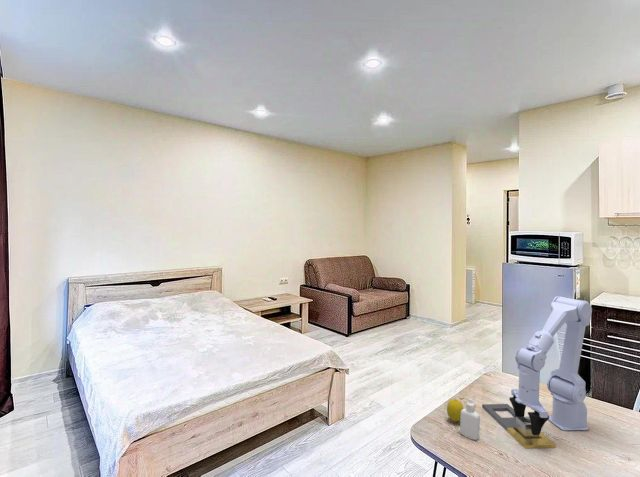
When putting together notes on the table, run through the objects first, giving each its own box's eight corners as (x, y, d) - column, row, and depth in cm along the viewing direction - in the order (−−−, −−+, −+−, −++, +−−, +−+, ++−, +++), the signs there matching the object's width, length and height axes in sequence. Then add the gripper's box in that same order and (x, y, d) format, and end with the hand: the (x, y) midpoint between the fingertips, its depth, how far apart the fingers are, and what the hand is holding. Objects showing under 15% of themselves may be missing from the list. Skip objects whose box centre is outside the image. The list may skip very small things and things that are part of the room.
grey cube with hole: (528, 431, 112) (529, 416, 112) (538, 439, 107) (538, 424, 107) (515, 431, 111) (516, 416, 111) (524, 440, 107) (525, 424, 107)
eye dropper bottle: (468, 429, 112) (469, 394, 112) (481, 439, 107) (482, 402, 107) (458, 431, 111) (459, 396, 111) (470, 442, 106) (471, 404, 105)
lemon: (465, 427, 114) (465, 404, 113) (448, 425, 115) (448, 402, 114) (461, 418, 119) (462, 396, 119) (445, 416, 120) (445, 394, 120)
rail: (507, 406, 128) (507, 403, 128) (555, 447, 104) (555, 444, 104) (482, 407, 127) (482, 404, 127) (525, 448, 103) (525, 445, 103)
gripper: (503, 376, 116) (502, 415, 116) (532, 397, 101) (531, 441, 102) (522, 376, 116) (521, 414, 117) (554, 397, 102) (553, 441, 102)
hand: (527, 427), depth 109 cm, fingers open, 7 cm apart
